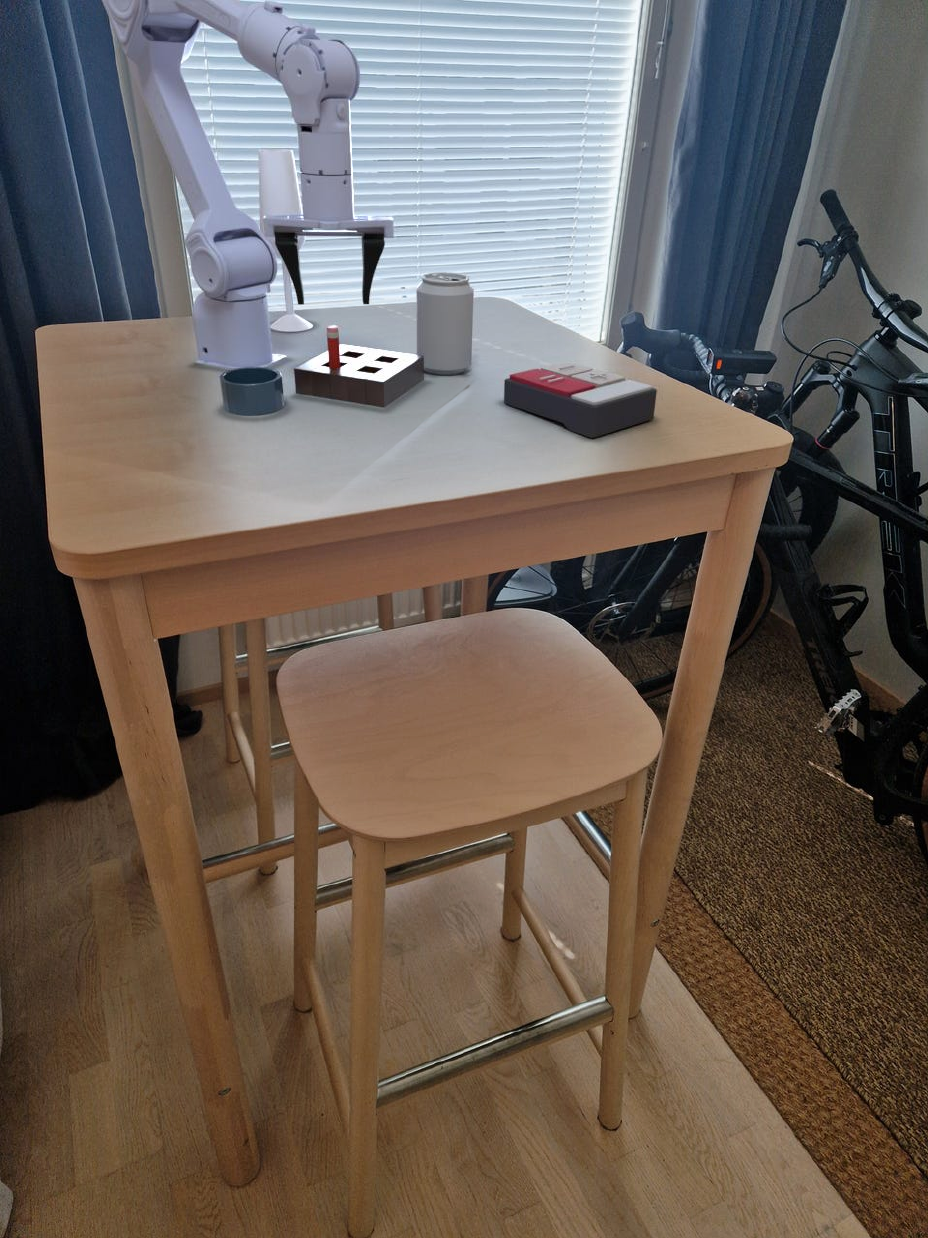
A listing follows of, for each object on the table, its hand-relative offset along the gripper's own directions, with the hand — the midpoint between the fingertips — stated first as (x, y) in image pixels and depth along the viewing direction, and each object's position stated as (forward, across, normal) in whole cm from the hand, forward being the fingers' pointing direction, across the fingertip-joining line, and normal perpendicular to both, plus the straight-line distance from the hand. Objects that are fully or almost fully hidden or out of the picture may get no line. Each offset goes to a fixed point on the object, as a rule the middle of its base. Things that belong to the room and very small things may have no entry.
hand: (333, 302), depth 96 cm
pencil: (+10, 0, -2) cm, 11 cm away
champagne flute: (+11, -7, +31) cm, 33 cm away
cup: (+10, -10, -7) cm, 16 cm away
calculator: (+10, +28, -11) cm, 32 cm away
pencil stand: (+10, +3, -1) cm, 11 cm away
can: (+10, +15, +8) cm, 19 cm away
